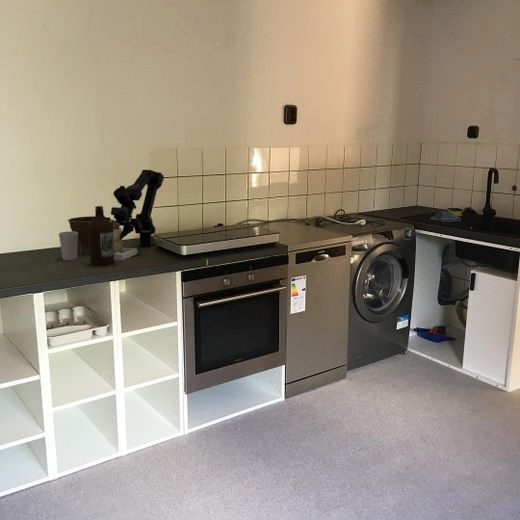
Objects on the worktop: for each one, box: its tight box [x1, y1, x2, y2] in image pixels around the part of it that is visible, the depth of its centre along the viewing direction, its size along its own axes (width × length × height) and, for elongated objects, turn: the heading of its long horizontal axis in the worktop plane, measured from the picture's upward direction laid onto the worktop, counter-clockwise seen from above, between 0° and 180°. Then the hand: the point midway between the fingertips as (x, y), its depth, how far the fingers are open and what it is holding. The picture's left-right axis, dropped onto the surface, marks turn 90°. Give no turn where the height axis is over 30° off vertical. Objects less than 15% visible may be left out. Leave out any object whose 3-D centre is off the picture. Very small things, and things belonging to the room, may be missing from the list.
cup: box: [58, 230, 78, 261], centre depth 257 cm, size 8×8×12 cm
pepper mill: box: [113, 222, 124, 254], centre depth 261 cm, size 4×4×14 cm
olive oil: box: [87, 205, 115, 267], centre depth 246 cm, size 11×11×25 cm
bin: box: [114, 247, 138, 261], centre depth 263 cm, size 14×12×3 cm
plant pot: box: [67, 215, 95, 255], centre depth 271 cm, size 16×16×16 cm
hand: (115, 238), depth 260 cm, fingers closed on pepper mill, 4 cm apart
